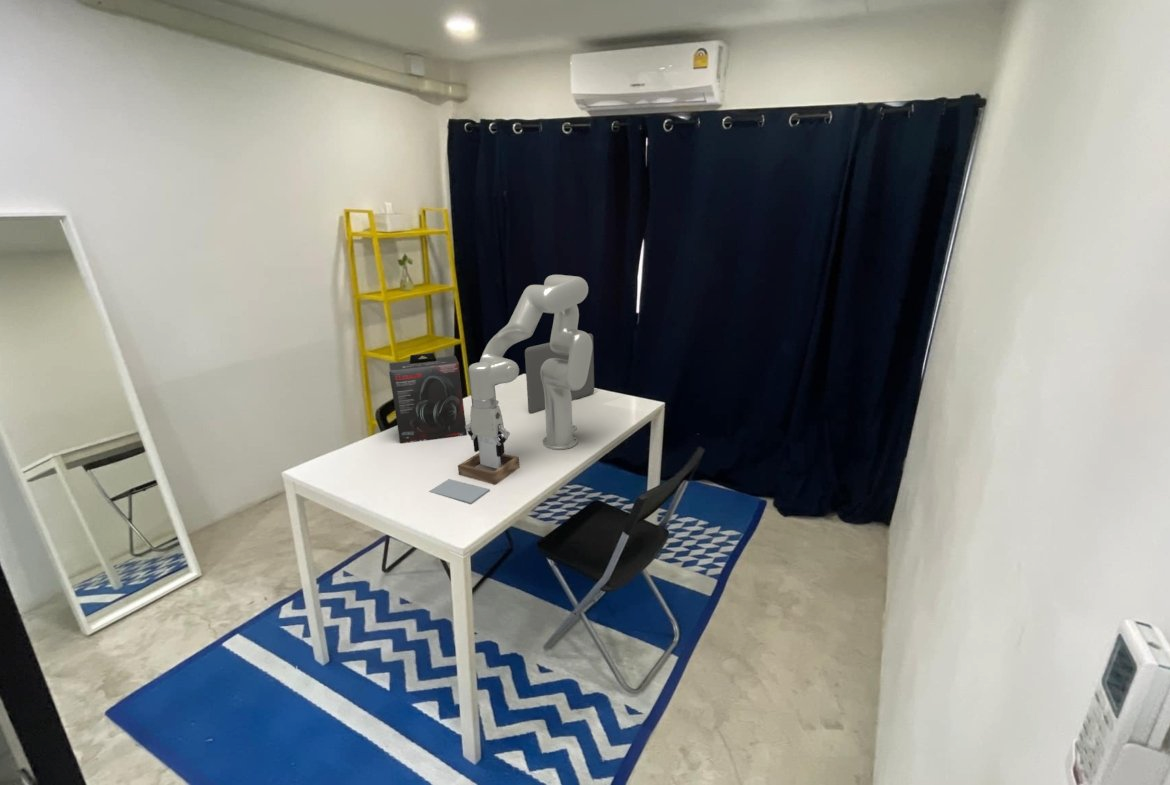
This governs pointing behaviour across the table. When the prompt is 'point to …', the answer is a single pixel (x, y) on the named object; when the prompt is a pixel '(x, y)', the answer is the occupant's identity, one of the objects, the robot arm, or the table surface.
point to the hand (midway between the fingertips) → (489, 452)
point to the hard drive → (488, 452)
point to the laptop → (534, 382)
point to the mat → (460, 491)
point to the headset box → (427, 398)
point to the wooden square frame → (488, 476)
